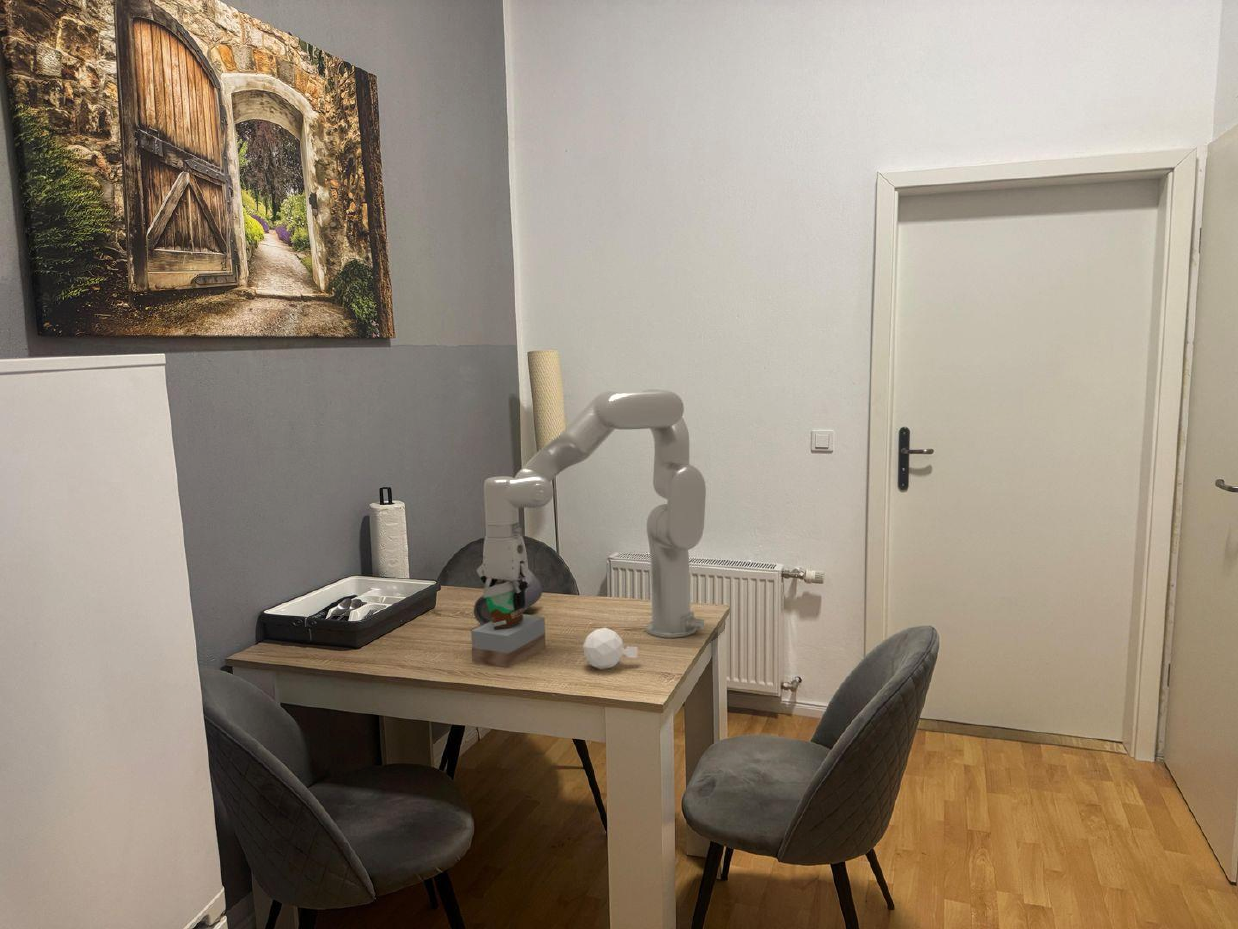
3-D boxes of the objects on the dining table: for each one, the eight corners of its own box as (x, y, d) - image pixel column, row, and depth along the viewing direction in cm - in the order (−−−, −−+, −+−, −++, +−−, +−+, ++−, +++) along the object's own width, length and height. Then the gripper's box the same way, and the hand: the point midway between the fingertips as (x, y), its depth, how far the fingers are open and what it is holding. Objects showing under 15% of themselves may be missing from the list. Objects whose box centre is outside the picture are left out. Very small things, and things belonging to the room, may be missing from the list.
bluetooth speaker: (514, 606, 239) (513, 571, 238) (544, 608, 236) (543, 573, 235) (472, 630, 218) (470, 592, 217) (504, 634, 215) (502, 595, 214)
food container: (516, 628, 192) (506, 585, 191) (491, 631, 193) (481, 589, 192) (535, 611, 203) (526, 571, 203) (512, 615, 205) (502, 574, 204)
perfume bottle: (580, 668, 184) (636, 673, 184) (584, 625, 185) (639, 630, 186) (580, 667, 192) (634, 671, 193) (584, 625, 194) (637, 630, 194)
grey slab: (545, 633, 204) (544, 617, 203) (508, 653, 190) (507, 636, 190) (510, 628, 208) (509, 612, 208) (472, 647, 195) (471, 630, 195)
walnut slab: (545, 649, 204) (544, 633, 203) (508, 670, 191) (507, 653, 190) (511, 644, 209) (510, 628, 208) (472, 664, 196) (471, 647, 195)
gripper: (543, 530, 195) (546, 606, 197) (484, 525, 204) (487, 597, 206) (523, 536, 189) (526, 615, 191) (462, 531, 198) (467, 606, 200)
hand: (506, 605), depth 198 cm, fingers open, 7 cm apart
